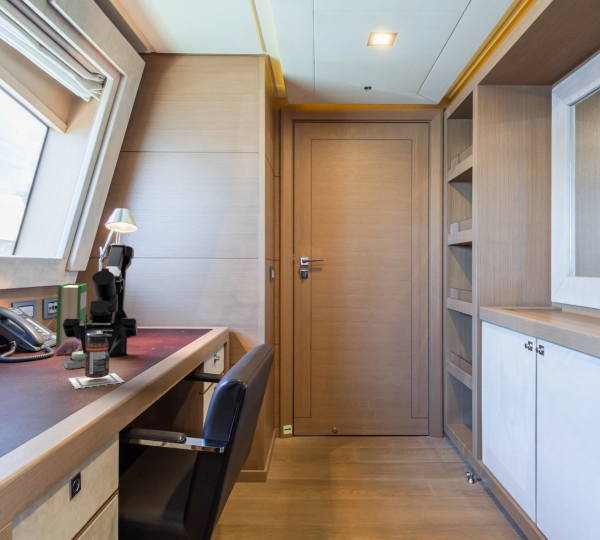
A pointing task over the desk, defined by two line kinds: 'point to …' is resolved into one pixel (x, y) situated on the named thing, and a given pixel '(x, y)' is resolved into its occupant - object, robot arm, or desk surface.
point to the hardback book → (69, 307)
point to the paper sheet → (95, 381)
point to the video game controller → (69, 347)
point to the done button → (78, 356)
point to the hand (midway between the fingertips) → (96, 352)
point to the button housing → (72, 363)
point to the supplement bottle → (97, 356)
